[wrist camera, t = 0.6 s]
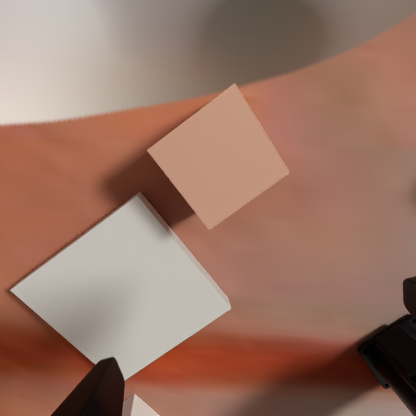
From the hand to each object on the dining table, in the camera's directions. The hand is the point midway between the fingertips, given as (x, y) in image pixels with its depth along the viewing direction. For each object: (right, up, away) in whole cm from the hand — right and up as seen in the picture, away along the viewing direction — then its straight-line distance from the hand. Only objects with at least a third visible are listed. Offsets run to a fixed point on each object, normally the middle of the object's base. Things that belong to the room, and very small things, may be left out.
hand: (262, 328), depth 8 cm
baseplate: (-8, -3, +14) cm, 17 cm away
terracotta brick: (-1, +8, +12) cm, 14 cm away
